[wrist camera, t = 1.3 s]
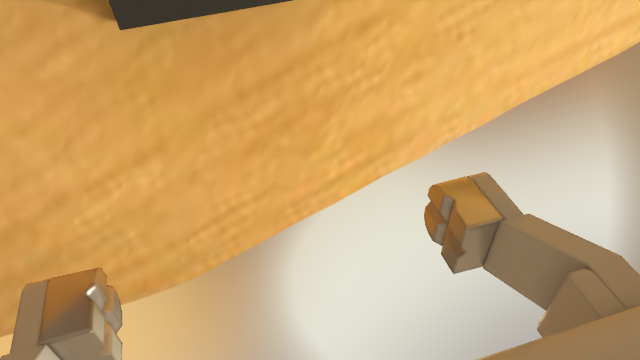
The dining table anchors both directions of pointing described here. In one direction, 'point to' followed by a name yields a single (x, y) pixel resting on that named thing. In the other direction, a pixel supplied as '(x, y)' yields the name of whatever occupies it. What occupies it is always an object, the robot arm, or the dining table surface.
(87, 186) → the dining table surface
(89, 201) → the dining table surface
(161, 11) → the cutting board
